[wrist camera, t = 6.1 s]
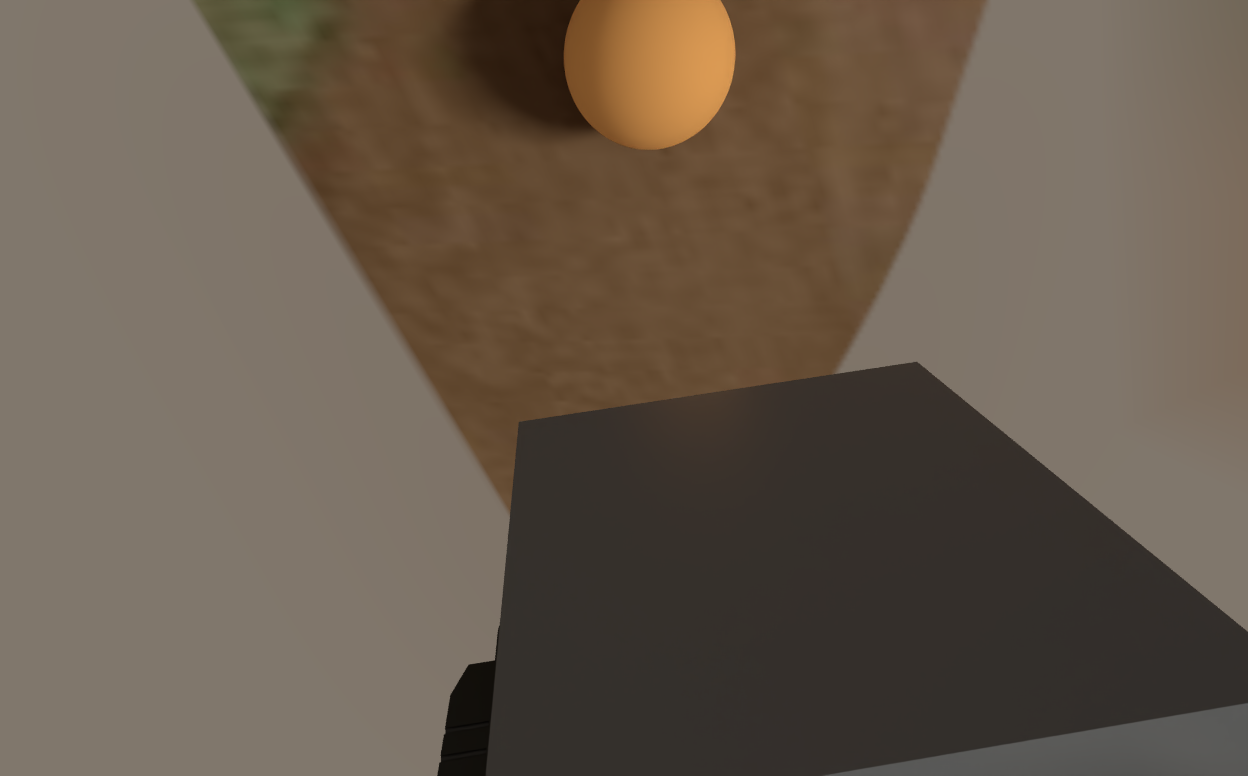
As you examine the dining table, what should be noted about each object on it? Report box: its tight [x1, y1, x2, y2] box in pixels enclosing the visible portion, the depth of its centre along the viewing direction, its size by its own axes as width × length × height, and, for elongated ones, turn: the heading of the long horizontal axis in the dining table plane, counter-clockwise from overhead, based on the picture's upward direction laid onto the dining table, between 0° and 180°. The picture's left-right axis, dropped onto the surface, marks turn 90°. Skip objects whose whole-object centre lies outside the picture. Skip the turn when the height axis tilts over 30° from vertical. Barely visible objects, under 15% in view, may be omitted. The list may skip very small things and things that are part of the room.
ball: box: [564, 0, 735, 150], centre depth 20 cm, size 5×5×5 cm
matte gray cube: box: [486, 362, 1248, 776], centre depth 10 cm, size 7×7×7 cm
